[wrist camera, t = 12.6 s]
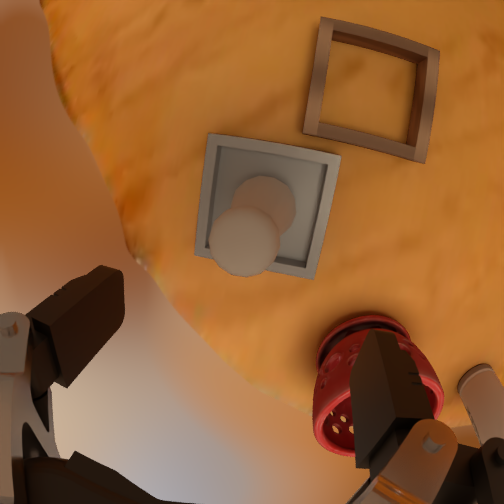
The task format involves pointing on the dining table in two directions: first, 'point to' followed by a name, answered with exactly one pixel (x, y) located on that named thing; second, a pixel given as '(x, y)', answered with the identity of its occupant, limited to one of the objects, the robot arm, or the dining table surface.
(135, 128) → the dining table surface
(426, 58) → the rectangular frame
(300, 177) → the tray
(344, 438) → the plant pot
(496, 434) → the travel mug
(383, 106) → the dining table surface
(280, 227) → the salt shaker
